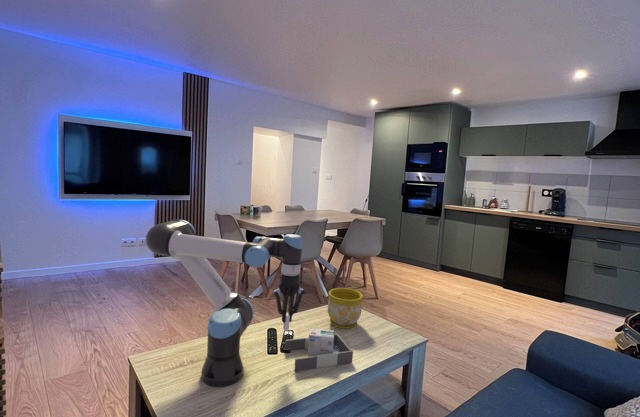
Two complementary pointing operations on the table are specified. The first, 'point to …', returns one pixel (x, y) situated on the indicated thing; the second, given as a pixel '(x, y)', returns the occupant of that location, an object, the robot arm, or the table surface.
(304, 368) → the trap channel
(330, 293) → the flowerpot
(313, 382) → the table surface
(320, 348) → the light bulb box
